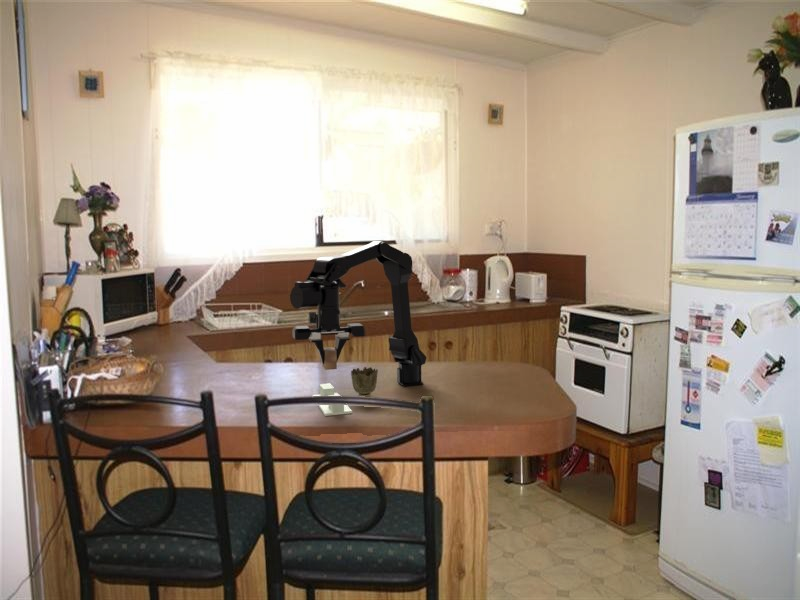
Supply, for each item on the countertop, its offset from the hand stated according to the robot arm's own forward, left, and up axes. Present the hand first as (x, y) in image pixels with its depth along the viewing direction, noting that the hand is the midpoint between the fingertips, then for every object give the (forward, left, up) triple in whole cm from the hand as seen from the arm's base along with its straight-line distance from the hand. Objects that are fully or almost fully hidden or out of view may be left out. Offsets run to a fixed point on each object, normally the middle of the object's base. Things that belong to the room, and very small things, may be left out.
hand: (329, 363), depth 169 cm
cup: (-10, -2, -12) cm, 16 cm away
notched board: (0, +1, -11) cm, 11 cm away
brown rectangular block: (0, 0, -1) cm, 1 cm away
